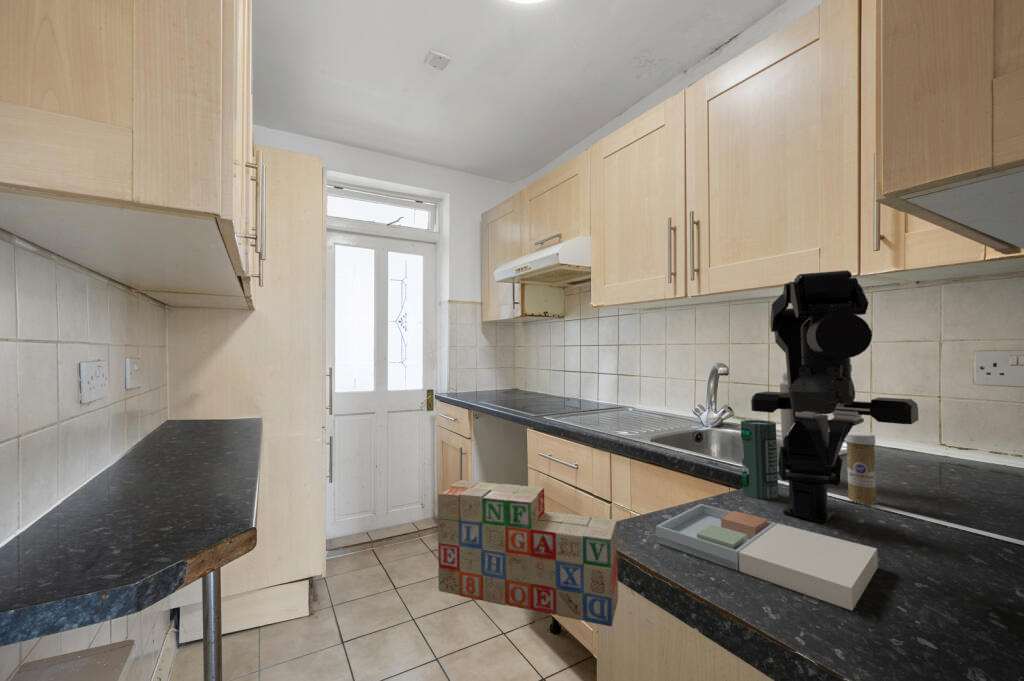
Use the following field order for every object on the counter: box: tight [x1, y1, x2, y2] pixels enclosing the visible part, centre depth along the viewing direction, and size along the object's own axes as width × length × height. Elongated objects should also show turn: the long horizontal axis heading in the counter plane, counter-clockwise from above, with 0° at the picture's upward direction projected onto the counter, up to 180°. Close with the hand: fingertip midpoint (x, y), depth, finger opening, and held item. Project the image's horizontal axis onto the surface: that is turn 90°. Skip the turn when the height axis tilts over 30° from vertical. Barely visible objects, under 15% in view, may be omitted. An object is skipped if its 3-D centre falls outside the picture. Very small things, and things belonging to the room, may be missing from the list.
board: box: [738, 523, 879, 611], centre depth 58 cm, size 15×12×2 cm
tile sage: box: [697, 525, 747, 550], centre depth 62 cm, size 5×5×2 cm
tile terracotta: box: [721, 510, 768, 539], centre depth 68 cm, size 5×5×2 cm
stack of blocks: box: [437, 480, 619, 627], centre depth 52 cm, size 21×6×12 cm, turn 70°
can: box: [740, 419, 779, 501], centre depth 89 cm, size 6×6×15 cm
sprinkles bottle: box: [845, 431, 878, 505], centre depth 84 cm, size 5×5×13 cm
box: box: [655, 503, 777, 571], centre depth 67 cm, size 15×12×2 cm
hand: (829, 466), depth 62 cm, fingers closed
